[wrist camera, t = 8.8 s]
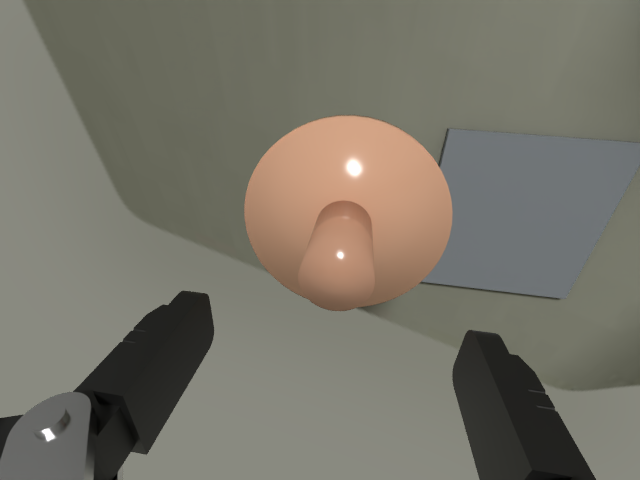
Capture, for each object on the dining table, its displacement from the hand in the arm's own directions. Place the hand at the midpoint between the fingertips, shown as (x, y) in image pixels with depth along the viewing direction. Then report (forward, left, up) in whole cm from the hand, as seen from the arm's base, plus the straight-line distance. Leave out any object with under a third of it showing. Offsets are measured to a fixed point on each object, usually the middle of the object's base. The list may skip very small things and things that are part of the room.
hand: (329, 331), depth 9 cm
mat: (-14, +3, -19) cm, 23 cm away
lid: (0, 0, -9) cm, 9 cm away
